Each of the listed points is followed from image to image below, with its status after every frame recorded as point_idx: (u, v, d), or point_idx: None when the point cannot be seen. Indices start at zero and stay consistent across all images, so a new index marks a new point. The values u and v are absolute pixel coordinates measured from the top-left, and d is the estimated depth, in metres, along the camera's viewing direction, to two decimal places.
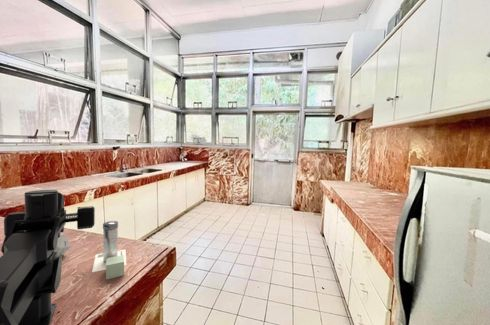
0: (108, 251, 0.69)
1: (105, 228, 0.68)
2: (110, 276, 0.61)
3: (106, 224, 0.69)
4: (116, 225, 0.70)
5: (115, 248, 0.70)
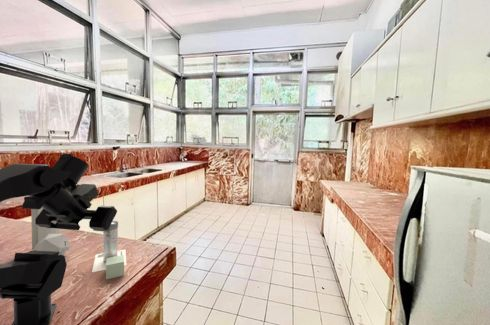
0: (108, 251, 0.69)
1: None
2: (110, 276, 0.61)
3: None
4: (116, 225, 0.70)
5: (115, 248, 0.70)
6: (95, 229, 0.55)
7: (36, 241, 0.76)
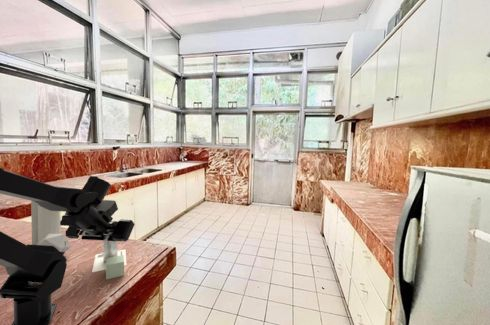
0: (108, 251, 0.69)
1: None
2: (110, 276, 0.61)
3: None
4: None
5: (115, 248, 0.70)
6: (116, 240, 0.64)
7: (36, 241, 0.76)
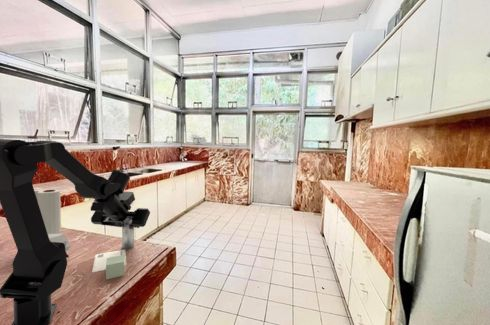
0: (126, 239, 0.78)
1: None
2: (110, 276, 0.61)
3: None
4: None
5: (132, 237, 0.80)
6: (135, 226, 0.73)
7: None
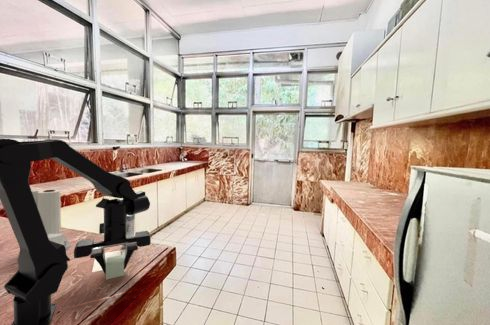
0: None
1: None
2: (110, 276, 0.61)
3: None
4: (133, 217, 0.80)
5: None
6: (139, 245, 0.64)
7: None
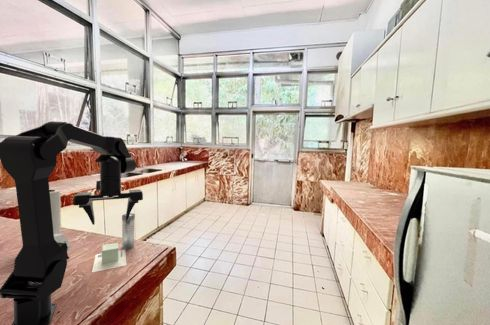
0: (126, 239, 0.78)
1: (124, 219, 0.78)
2: (106, 260, 0.68)
3: (125, 216, 0.78)
4: (133, 217, 0.80)
5: (132, 237, 0.80)
6: (132, 199, 0.70)
7: None
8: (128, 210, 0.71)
